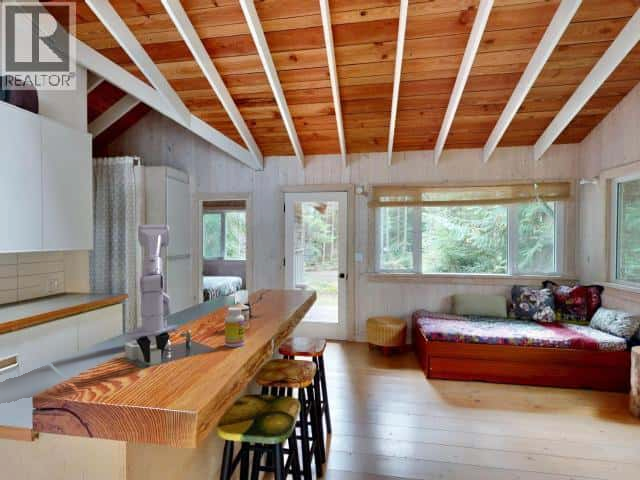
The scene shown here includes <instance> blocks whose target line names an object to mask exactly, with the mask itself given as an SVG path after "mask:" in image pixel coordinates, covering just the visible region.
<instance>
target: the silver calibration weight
mask: <svg viewBox="0 0 640 480" xmlns="http://www.w3.org/2000/svg"><path fill="white" fill-rule="evenodd" d="M169 340H170V339H169ZM169 340H168V342H167V344H166V346H165V349H164V350H170V349H171V345H172V343H171V342H172V341H171V342H169Z"/></svg>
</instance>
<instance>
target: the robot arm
mask: <svg viewBox="0 0 640 480" xmlns="http://www.w3.org/2000/svg"><path fill="white" fill-rule="evenodd" d="M137 237H138V241H139V245H140V247H142V248H145V249H146V257H145V258H144V259H143V260H142V271H141V276H140V278H139V292H140V303H141V304H140V318H141V329H140V330H137V331H133V332H129V333H125V341H126V342H128V343H130V342H133V341H135V342H137V343H138V345H139V347H140V349H141V351H142V353H143V357H144V361H145V362H146V363H149V362H150V344H151V343H152V346H155V347H156V348H158V349H160V350H161V359H162V356H163V352H164V349H165V346H166V344H167V342H168V340H169V342H172V340H171V339H170V334H171V333H178V332H179V326H178V325H177V324H172V325H168V317H170V316H171V297H170V295H169V294H168V293H166V292H164V291H165V277H164V271H163V270H164V269H163V268H164V265H163V263H164V262H163V259H162V252H163V250H164V248H167V247H169V244H170V225H168V224H139V225H138V226H137Z"/></svg>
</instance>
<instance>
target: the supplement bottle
mask: <svg viewBox="0 0 640 480" xmlns="http://www.w3.org/2000/svg"><path fill="white" fill-rule="evenodd" d="M228 308H229V307H228ZM228 308H227V315H226V316H225V319H224V334H225V335H224V337H225V338H224V339H225V340H224V341H225V343H224V344H225V346H226V347H229V348H237V347H242V346H243V345H245V330H244V317H243V316H242V315H241V308H229V309H228Z"/></svg>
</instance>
